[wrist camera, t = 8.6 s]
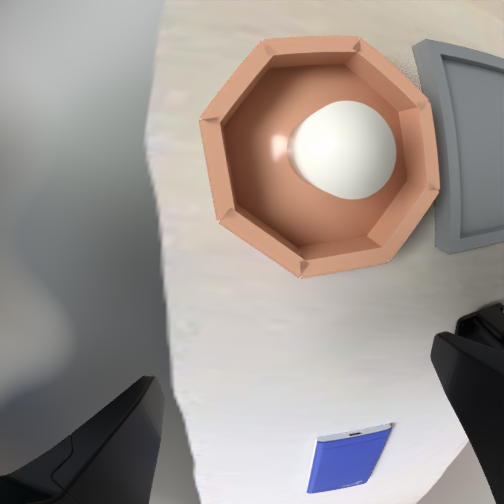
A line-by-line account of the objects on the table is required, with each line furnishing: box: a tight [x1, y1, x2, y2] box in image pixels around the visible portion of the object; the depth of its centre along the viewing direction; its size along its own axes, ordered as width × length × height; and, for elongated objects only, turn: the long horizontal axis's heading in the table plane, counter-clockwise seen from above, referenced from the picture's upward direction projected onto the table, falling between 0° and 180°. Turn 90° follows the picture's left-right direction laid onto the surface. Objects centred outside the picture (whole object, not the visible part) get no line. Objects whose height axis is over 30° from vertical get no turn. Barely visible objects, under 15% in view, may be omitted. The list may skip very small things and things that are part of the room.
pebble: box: [287, 101, 396, 200], centre depth 14 cm, size 4×4×5 cm
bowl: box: [199, 36, 440, 279], centre depth 16 cm, size 13×13×4 cm
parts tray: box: [412, 39, 504, 254], centre depth 16 cm, size 15×15×2 cm
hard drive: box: [306, 423, 392, 493], centre depth 27 cm, size 2×8×12 cm
